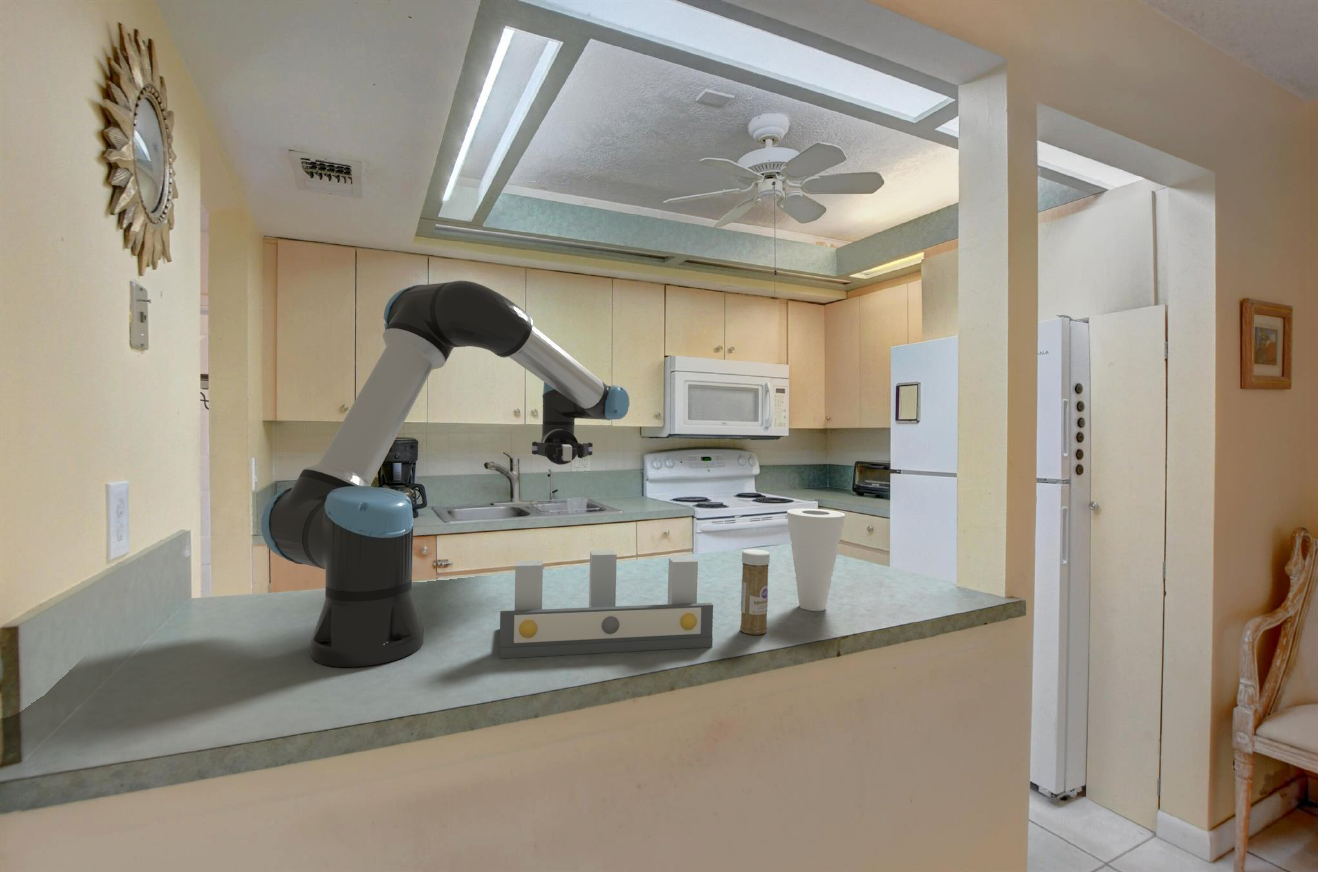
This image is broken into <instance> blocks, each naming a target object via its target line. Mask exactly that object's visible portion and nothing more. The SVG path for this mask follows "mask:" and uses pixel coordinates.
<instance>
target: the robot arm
mask: <svg viewBox="0 0 1318 872" xmlns="http://www.w3.org/2000/svg"><path fill="white" fill-rule="evenodd" d="M383 320H384V321H385V322H384V324H383V326H384V329H385V330H384V331H383V333H382V339H383V341H384V344H385V348H384V350H383V351H382V352H381V355H380V356H379V359H378V360H377V362H376V364H375V365H374V367H373V368H372V371H371V372H370V374H369V375H368V378H367V380H366V381H365V383H364V385H363V386H362V388H361V389H360V392H358V395H357V396H356V398H355V400H354V401H353V404H352V405H351V406H350V407H351V408H350V409H349V410H348V412H347V414H346V416H345V417H344V419H343V421H342V422H341V424H340V426H339V428H338V429H337V432H336V433H335V435H334V436H333V438H332V440H331V441H330V442H329V445H328V446H327V449H326V450H325V452H324V454H323V456H322V457H321V459H320V461H319V462H318V463H316V464H313V465H310V466H308V467H304V468H303V469H302V471H301V472H300V474H299V476H298V478H297V479H296V481H295V483H294V484H293V486H292V487H288V488H285V489H284V490H282V491H280V492H279V491H278V493H276V494H275V495H274V496H273V497H272V498H270V500H269V501H268V502H267V504H266V505H265V507H264V510H263V511H262V512H263V513H262V515H261V519H260V522H261V523H260V529H261V535H262V537H263V539H264V543H265V544H266V546H267V547H268V549H270V551H271V552H273V553H274V554H276V555H277V556H279V557H280V558H282V559H285V560H287V561H288V562H292V563H294V564H297V565H307V566H309V567H315V568H318V569H322V570H325V593H324V594H325V596H324V597H325V600H324V603H323V606H322V609H321V611H320V615H319V616H318V620H317V623H316V626H315V628H314V631H313V634H312V637H311V640H310V656H311V658H312V660H313V661H314V662H317V664H318V663H319V664H321V665H325V666H329V667H330V666H331V667H339V668H342V667H343V668H355V667H367V666H374V665H380V664H385V663H388V662H392V661H396V660H400V659H402V658H406V657H408V656H410V655H412V654H413V653H416V652H417V651H418V650H419V649H420V648H421V647H422V646H423V644H424V625H423V622H422V619H421V616H420V612H419V611H418V607H417V605H416V601H415V598H414V596H413V592H412V591H413V586H412V584H413V579H412V578H413V549H414V547H413V546H414V545H413V544H414V543H413V542H414V525H415V519H414V513H413V511H414V510H413V504H412V501H411V499H410V497H409V496H408V495H406V494H405V493H403V492H401V491H398V490H397V489H396V490H395V489H392V488H388V487H375V486H372V484H373V481H374V480H375V477H376V476H377V474H378V472H379V470H380V468H381V467H382V465H383V463H384V461H385V458H386V457H387V455H388V453H390V452H389V451H390V449H391V447H392V446H393V445H394V442H395V440H396V438H397V437H398V434H399V432H401V431H400V430H401V429H402V427H403V425H404V423H405V422H406V419H407V418H408V415H409V414H410V412H411V409H412V408H413V406H414V404H415V403H416V400H417V398H418V396H419V395H420V393H421V391H422V389H423V387H424V385H425V383H426V382H427V380H428V379H429V378H428V377H429V376H430V374H431V372H432V370H437V369H441V368H443V367H444V366H445V364H446V362H447V360H448V358H449V357H450V356H451V353H452V351H453V350H454V348H465V347H474V348H480V349H484V350H486V351H490V352H491V353H492V354H494V355H496V356H497V357H500V358H504V359H505V358H509V359H511V360H513V361H514V362H515V363H517V364H518V365H519V366H521V367H522V368H523V369H525V370H527V371H528V372H530V373H531V374H533V375H534V376H535V377H537V378H538V379H540V380H541V381H542V382H543V391H542V394H541V395H542V397H541V398H542V424H541V425H542V426H541V441H540V442H538V441H532V442H531V454H532V455H539V456H541V457H545V458H547V460H548V461H550V462H551V463H553V464H556V465H558V466H562V465H567V464H569V463H572V461H574V460H575V458H578V459H583V458H585V457H588V456H593V444H594V443H592V442H587V443H580V442H579V441H578V438H576V436H575V421H576V420H575V419H584V420H603V421H604V420H605V421H611V420H614V421H615V420H622V419H623V418H625V417H626V415H627V414H628V412H629V407H630V397H629V393H628V391H627V390H626V389H625V388H624V387H623V386H619V385H607V384H606V383H605V382H604V381H602V380H601V379H599V378H598V377H597V376H596V375H595V374H593V372H591V371H590V370H589V369H588V368H586V367H585V366H584V365H582V364H581V363H580V362H579V361H577V360H576V359H575V358H574V357H573V356H571V355H570V354H569V353H568V352H567V351H565V350H564V349H563V348H561V346H559V345H558V344H556V343H555V342H554V341H553V340H551V339H550V338H549V337H548V336H547V335H545V334H544V333H543V332H542V331H541V330H539V329H538V328H537V327H536V326H535V325H534V323H533V319H532V317H531V316H530V315H529V313H527V312H526V311H525V310H523V309H522V308H521V307H520V306H519V305H517V304H516V303H515V302H513V301H511V300H510V299H509V298H508V297H505V296H504V295H502V294H501V293H499V292H498V291H495V290H493V289H492V288H489V286H488V287H487V286H486V285H483V284H480V283H478V282H474V281H470V280H469V281H468V280H454V281H449V282H441V283H439V282H437V283H429V284H428V283H427V284H416V285H411V286H409V287H405V288H403V289H401V290H399V291H396V292H395V293H394V294H393V295H392V296H391V297H390V299H388V301H387V303H386V305H385V309H384V311H383Z"/></svg>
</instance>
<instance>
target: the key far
mask: <svg viewBox="0 0 1318 872" xmlns="http://www.w3.org/2000/svg"><path fill="white" fill-rule="evenodd" d="M698 565H699V561H698V560H697V559H695V558H694V557H693V556H690V557H689V556H688V557H687V556H686V557H668V575H667V579H668V581H667V604H690V603H698V571H699V570H698V569H699V566H698Z"/></svg>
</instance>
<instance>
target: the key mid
mask: <svg viewBox="0 0 1318 872" xmlns="http://www.w3.org/2000/svg"><path fill="white" fill-rule="evenodd" d="M617 557H618V556H617V553H616V551H615V550H590V551H589V586H588V587H589V589H588V608H589V607H614V606H616V600H617V599H616V597H617V596H616V594H617V591H616V590H617Z"/></svg>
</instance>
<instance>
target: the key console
mask: <svg viewBox="0 0 1318 872" xmlns="http://www.w3.org/2000/svg"><path fill="white" fill-rule="evenodd" d="M499 612H500V613H499V650H498V651H499V658H498V659H500V660H501V659H515V658H517V659H518V658H519V659H520V658H533V657H534V658H536V657H553V656H555V657H556V656H571V655H591V654H604V653H605V654H606V653H607V654H608V653H626V652H629V653H630V652H641V651H643V652H645V651H663V650H679V649H680V650H683V649H697V648H699V649H700V648H701V649H702V648H713V626H714V625H713V619H714V618H713V617H714V604H713V603H712V602H697V603H690V604H668V603H666V604H647V605H646V604H644V605H643V604H642V605H619V606H618V605H617V606H616V605H615V606H614V607H589V606H588V607H571V608H568V607H567V608H544V609H543V608H542V609H538V610H515V609H514V610H500V611H499Z"/></svg>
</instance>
